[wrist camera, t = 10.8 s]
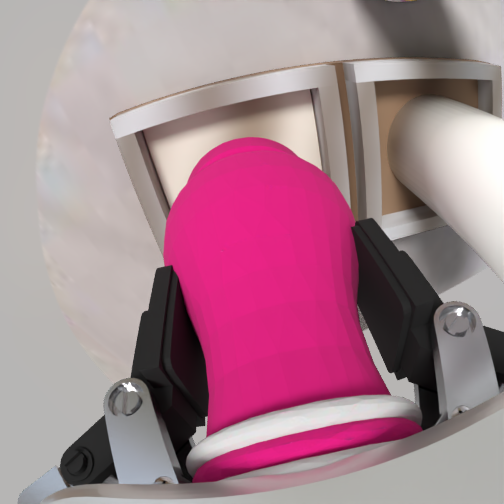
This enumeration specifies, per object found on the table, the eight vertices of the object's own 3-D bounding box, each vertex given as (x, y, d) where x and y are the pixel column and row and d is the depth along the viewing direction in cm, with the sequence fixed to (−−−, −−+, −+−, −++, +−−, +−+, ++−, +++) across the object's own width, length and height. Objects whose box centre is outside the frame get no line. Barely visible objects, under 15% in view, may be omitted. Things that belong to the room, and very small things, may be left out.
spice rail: (476, 60, 15) (505, 67, 13) (472, 194, 21) (495, 212, 19) (117, 113, 16) (100, 124, 13) (175, 264, 22) (172, 293, 20)
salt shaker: (466, 92, 15) (644, 187, 4) (463, 182, 19) (597, 308, 8) (383, 96, 15) (595, 214, 4) (387, 198, 19) (523, 365, 8)
